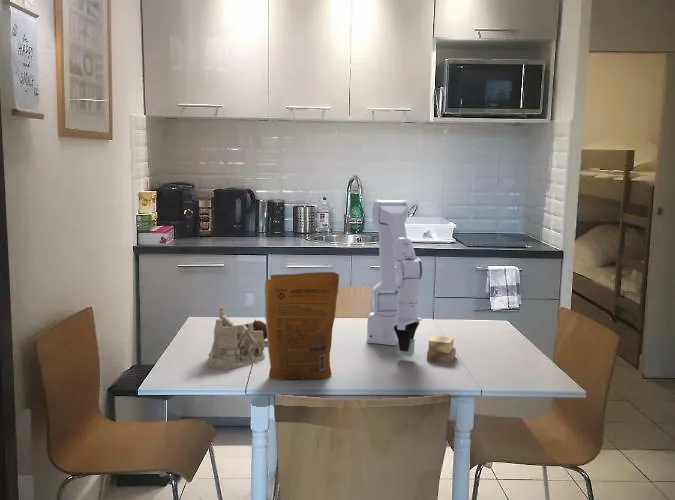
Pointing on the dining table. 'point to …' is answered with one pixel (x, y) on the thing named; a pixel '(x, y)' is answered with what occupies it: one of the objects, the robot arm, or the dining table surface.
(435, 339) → the tower top
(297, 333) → the pancake mix bag
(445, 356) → the tower base
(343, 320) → the dining table surface
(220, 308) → the ceramic cottage
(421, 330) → the dining table surface
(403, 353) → the teal cube
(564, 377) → the dining table surface
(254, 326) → the icecream
